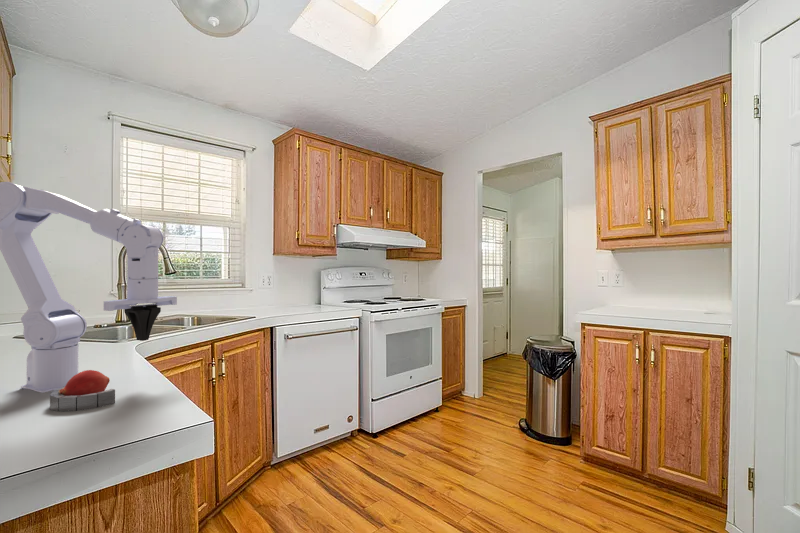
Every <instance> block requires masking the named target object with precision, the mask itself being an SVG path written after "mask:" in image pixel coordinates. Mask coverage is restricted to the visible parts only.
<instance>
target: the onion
mask: <svg viewBox="0 0 800 533" xmlns="http://www.w3.org/2000/svg"><path fill="white" fill-rule="evenodd" d="M109 383H110V378H109V377H108V376H106V375H105V374H104V373H102V372H100V371H98V370H93V369H87V370H82V371H81V372H78V374H76V375H74V376H73V377H72V378H71V379H70V380H69V381H68V382H67V384H66V386H65V387H64V388H63V389H61V390H59V393H60V394H62V395H64V396H78V395H86V394H92V393H98V392H102V391H106V389H107V387H108V384H109Z"/></svg>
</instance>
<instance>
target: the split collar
mask: <svg viewBox="0 0 800 533" xmlns="http://www.w3.org/2000/svg"><path fill="white" fill-rule="evenodd" d="M64 387H65V386H63V387H61V388H58V389H56V390H53V391H51V393H50V395H49V410H51V411H54V412H58V413H62V412H80V411H85V410H86V411H87V410H93V409H97V408H98V409H99V408H102V406H103V407H105V406H110V405H113V404H116V389H114V388H109V389H107V390H106V389H105V391H102V392H98V393H92V394H86V395H78V396H64V395H62V394H60V393H59V390H61V389H63V388H64Z"/></svg>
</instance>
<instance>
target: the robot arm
mask: <svg viewBox="0 0 800 533" xmlns="http://www.w3.org/2000/svg"><path fill="white" fill-rule="evenodd" d="M53 214H55V215H59V214H61V215H64V216H65V217H66V216H67V217H69V218H72V219H74V220H77V221H80V222H83V223H86V224H89V226H90V229H91V231H92V232H93V233H95V234H97V235H99V236H103V237H106V238H108V239H110V240H112V241H115V242H117V243H120V244H122V245H123V246H124V248H125V250H126V256H127V259H126V265H127V266H126V267H127V269H126V279H127V280H126V281H127V282H126V292H127V293H126V298H124V299H123V298H122V299H121V298H120V299H114V300H104V301H103V311H105V312H107V311H108V312H111V311H117V310H118V311H119V310H123V311H124V314H125V315H126V316H127V318H128V320H129V322H130V323H131V325H132V328H133V331H134V333H135V337H136V341H140V342H144V341H148V340H149V339H150V335H151V331H152V329H153V326H154V323H155V321H156V320H157V318H158V316H159V314H160V313H161V311H162V310H161V309H162V308H161V306H171V305H172V306H175V305H177V304H178V302H177V301H178V296H176V295H175V296H174V295H173V296H172V295H171V296H170V295H169V296H159V249H160V248H161V246H162V245H163V243H164V235H163V233H162V231H161V230H160V229H159V228H157V227H155V225H150V224H148V225H146V224H142V221H141V220H140V219H138V218H130V217H129V216H128V217H127V216H125V215H122V214H121V211H120V210H118V209H115V208H110V209H108V208H103V209H100V210H95V209H93V208H91V207H89V206H87V205H84V204H82V203H80V202H78V201H76V200H73V199H71V198H68V197H67V196H64V195H61V194H59V193H54V192H50V191H47V190H44V189H37V188H32V187H29V186H25V185H20V184H16V183H14V182H11V181H1V182H0V252H1V255H2V257H3V258H4V260H5V263H6V264H7V266H8V268H9V270H10V273H11V275H12V277H13V279H14V281H15V284H16V286H17V287H18V289H19V292H20V293H21V296H22V299H23V300H24V302H25V304H26V306H27V308H28V309H27V310H26V311H25V312H24V313H23V314H22V316H21V318H20V321H21V323H22V325H23V332H22V333H23V338H24V340H25V342H26V343H27V344H28V345H29V346H30V347H31V350H30V351H29V352H28V354H27V357H26V384H22V385H20V388H21V389H25V390H26V389H28V390H32V391H33V392H34V391H35V392H37V393H42V394H43V393H48V392H52V391H53V390H56V389H58V388H61V387H63V386H66V384H67V382H68V381H69V380H70V379H71V378H72V377H73V376H74V375H76V374H78V373H79V343H80V342H81V337H83V336H84V335H85V333H86V331H87V326H88V324H87V321H86V318H85V317H84V316H82V314H80V313H79V312H78V311H77V309H76V308H75V306H74V305H73V304H71V303H69V302H68V301H67V300H65V299H63V298H62V297H61V295H60V292H59V290H58V288H57V286H56V284H55V282H54V281H53V278H52V277H51V274H50V271H49V269H48V268H47V266H46V263H45V262H44V260H43V257H42V255H41V254H40V251H39V249H38V247H37V244H36V243H35V241H34V238H33V236H32V232H33V231H34V230H35V229H37V228H38V227H39V226H41V225H42V224H43V223H44V222H45V221H46V220H48V219H49V217H51V216H52V215H53Z"/></svg>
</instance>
